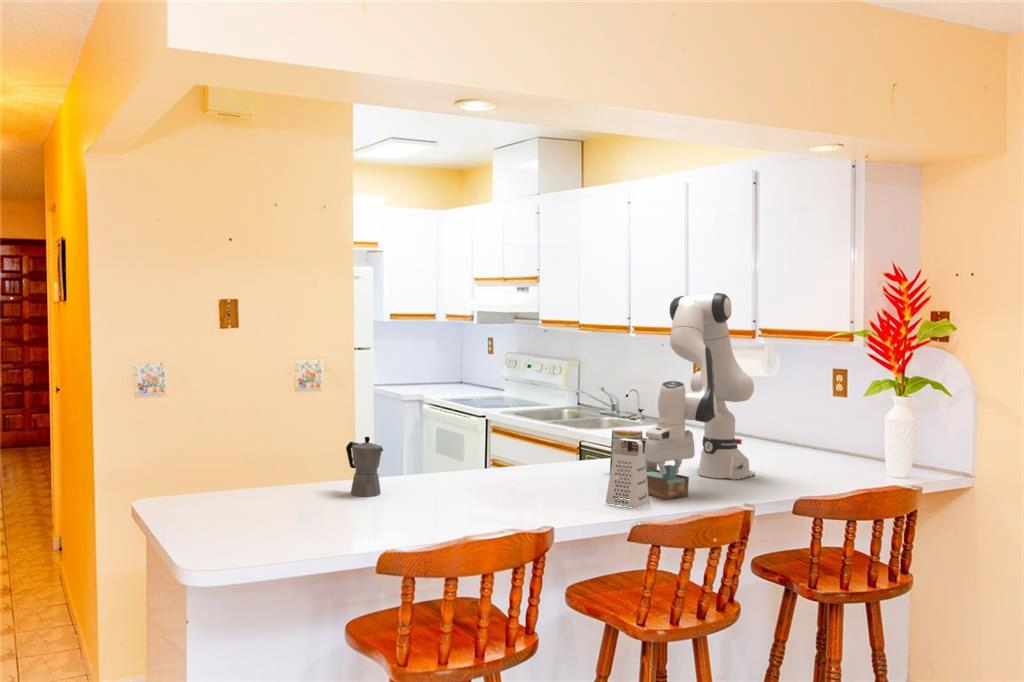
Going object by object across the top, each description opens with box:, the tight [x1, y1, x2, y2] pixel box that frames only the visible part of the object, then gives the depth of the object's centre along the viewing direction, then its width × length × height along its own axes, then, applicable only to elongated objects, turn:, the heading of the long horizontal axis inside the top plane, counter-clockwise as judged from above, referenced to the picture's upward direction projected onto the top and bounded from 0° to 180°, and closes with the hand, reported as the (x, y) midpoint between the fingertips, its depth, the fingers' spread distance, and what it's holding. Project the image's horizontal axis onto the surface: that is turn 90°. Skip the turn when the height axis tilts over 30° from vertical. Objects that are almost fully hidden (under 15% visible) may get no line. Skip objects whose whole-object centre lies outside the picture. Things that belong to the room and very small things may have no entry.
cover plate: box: [646, 464, 685, 484], centre depth 299 cm, size 8×14×5 cm, turn 37°
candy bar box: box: [609, 428, 643, 474], centre depth 331 cm, size 11×5×16 cm, turn 84°
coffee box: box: [627, 437, 658, 470], centre depth 312 cm, size 9×6×16 cm
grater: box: [604, 438, 650, 509], centre depth 282 cm, size 10×10×20 cm
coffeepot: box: [345, 436, 384, 498], centre depth 284 cm, size 15×9×18 cm, turn 54°
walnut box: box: [646, 469, 690, 501], centre depth 299 cm, size 11×16×6 cm
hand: (669, 473), depth 295 cm, fingers open, 4 cm apart
